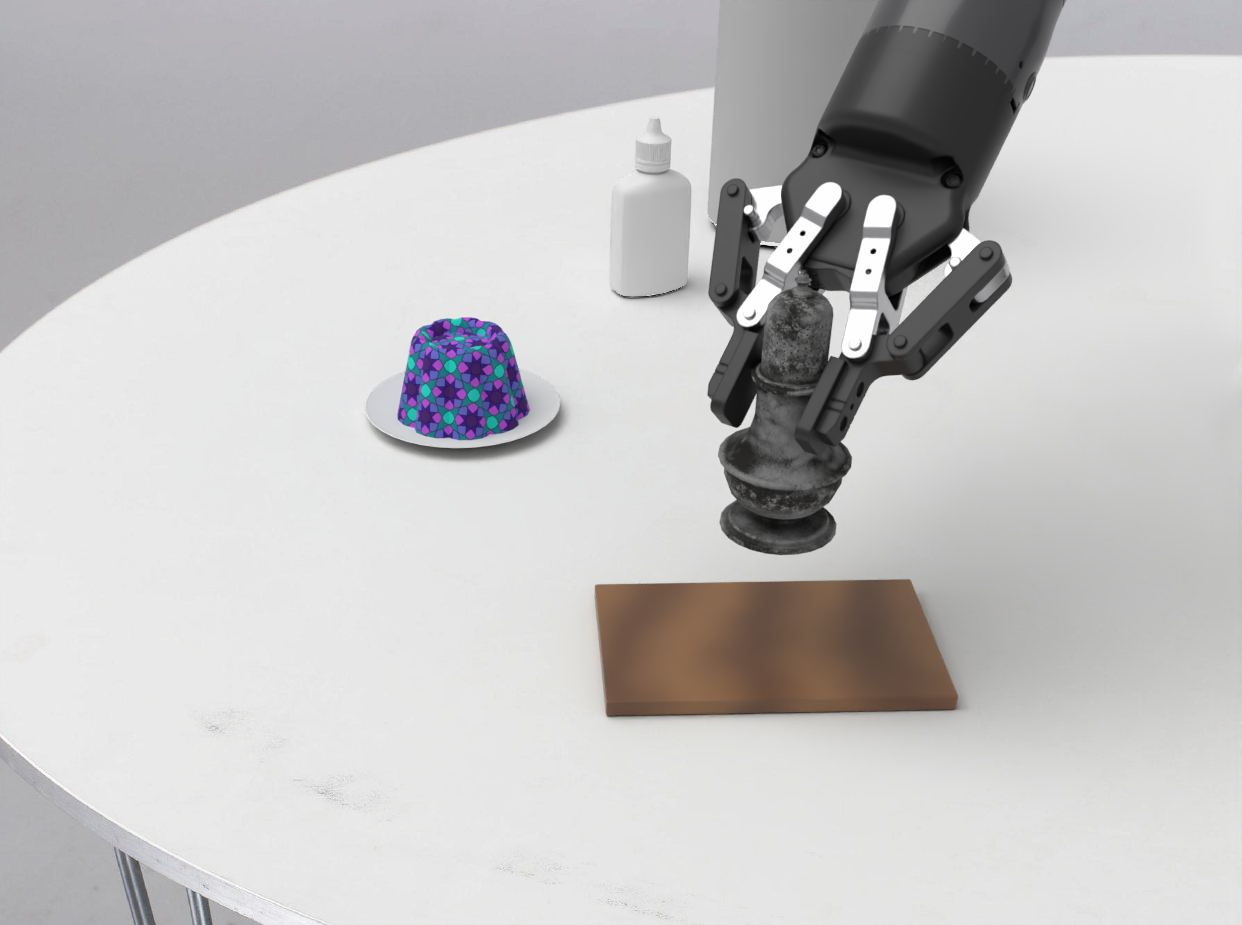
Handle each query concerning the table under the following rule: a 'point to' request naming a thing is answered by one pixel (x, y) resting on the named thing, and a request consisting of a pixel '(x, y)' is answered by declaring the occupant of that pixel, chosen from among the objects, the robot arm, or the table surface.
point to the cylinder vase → (776, 86)
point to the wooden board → (768, 648)
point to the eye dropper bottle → (650, 221)
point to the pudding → (461, 390)
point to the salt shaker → (784, 436)
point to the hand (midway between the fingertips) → (765, 431)
